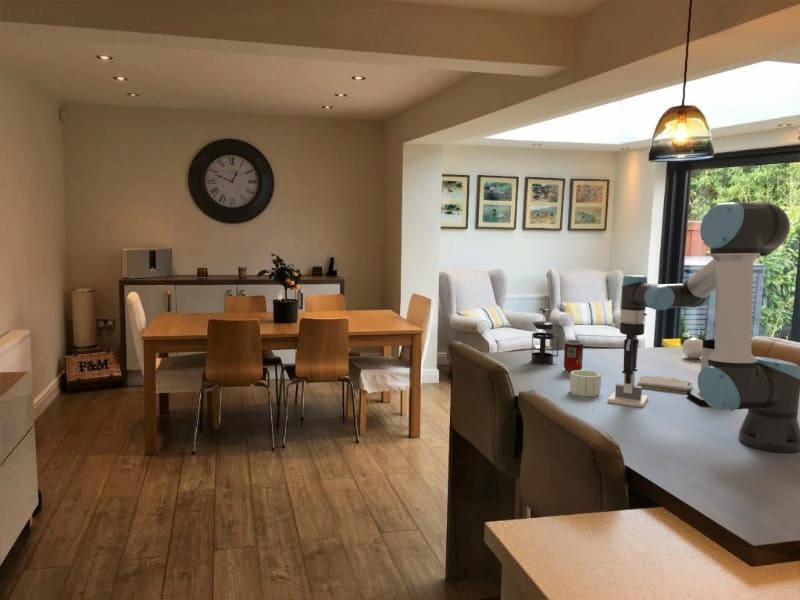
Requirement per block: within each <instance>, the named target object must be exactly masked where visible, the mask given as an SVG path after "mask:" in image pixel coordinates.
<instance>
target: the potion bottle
mask: <svg viewBox="0 0 800 600" xmlns="http://www.w3.org/2000/svg"><path fill="white" fill-rule="evenodd" d="M702 346H703V339H700V338H698V337H689V338H687V339H685V340H684V342H683V343H682V345H681V349H682V353H683V354H684V355H685V357H687V358H688V359H691V360H698V359H699V358H702V349H703V348H702Z"/></svg>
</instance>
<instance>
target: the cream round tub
mask: <svg viewBox="0 0 800 600" xmlns="http://www.w3.org/2000/svg"><path fill="white" fill-rule="evenodd" d="M569 381H570V382H569V391H570V392H571V393H570V394H572V393H573V394H572V395H574V394H576V395H575V396H578V395H580V396H579V397H584V396H594V397H597V395H598V396H600V395H601V386H602V385H601V384H602V374H601V372H597V371H595V370H587V369H581V370H575V371H572V372H571V373H570V377H569ZM599 394H600V395H599Z"/></svg>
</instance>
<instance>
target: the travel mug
mask: <svg viewBox="0 0 800 600" xmlns="http://www.w3.org/2000/svg"><path fill="white" fill-rule="evenodd" d="M702 341H703V346H702V348H703V349H702V356H701V357H700V358H701V361H700V371H701V370H702V369H703V368H705V367H706V366H708V357H709V356H710V355H711V354H713V353H714V351H715V338H709V339H702Z"/></svg>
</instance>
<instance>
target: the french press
mask: <svg viewBox="0 0 800 600" xmlns="http://www.w3.org/2000/svg"><path fill="white" fill-rule="evenodd" d="M538 310H540V311H542V313H543V317H542V318H543V319H542V320H541V321H540V320H539V321H533V322H532V324H533V325H534V327H535V329H537V330H542V332H533V333H532V337H531V359H530V362H531V363H532V364H536V365H542V364H548V365H553V364H554V363H553V362H554V358H555V357H559V341H560V340H559V339H560V336H559V334H558V335H557V334H554V333H550V332H544V331H545V330H548V331H549V330H553V329H554V326H555V322H552V321H548V320H547V321H545V314H546V311H549V310H550V308H545V307H544V308H543V307H541V308H539V309H538ZM555 338H557V346H556V347H557V348H556V354H554V353H550V352H546V351H554V349H555V347H554V346H555ZM534 339H538V340H539V344H538V345H533V344H534ZM546 340H552V346H550V345H546ZM533 350H536V351H539V352H533ZM552 363H553V364H552Z"/></svg>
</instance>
